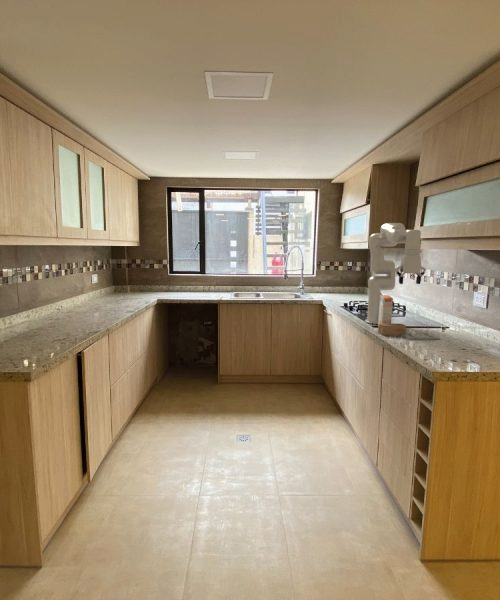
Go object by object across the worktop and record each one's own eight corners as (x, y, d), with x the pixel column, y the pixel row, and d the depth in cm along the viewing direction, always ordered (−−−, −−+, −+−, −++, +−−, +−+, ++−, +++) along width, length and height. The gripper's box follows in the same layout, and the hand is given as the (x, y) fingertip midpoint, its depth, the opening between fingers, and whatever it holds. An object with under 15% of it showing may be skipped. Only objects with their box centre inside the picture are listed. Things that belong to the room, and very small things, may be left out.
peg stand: (400, 335, 218) (401, 328, 218) (430, 335, 219) (430, 328, 219) (408, 339, 208) (409, 332, 208) (439, 339, 209) (440, 332, 209)
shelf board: (378, 333, 223) (378, 323, 223) (400, 333, 224) (401, 323, 223) (382, 335, 218) (382, 325, 217) (405, 335, 218) (406, 325, 217)
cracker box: (391, 332, 226) (393, 298, 223) (380, 331, 228) (383, 297, 224) (387, 327, 240) (389, 295, 237) (377, 326, 241) (379, 294, 238)
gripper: (423, 252, 207) (421, 283, 210) (393, 252, 206) (391, 283, 209) (430, 253, 200) (428, 284, 202) (399, 252, 199) (397, 284, 201)
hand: (409, 283), depth 206 cm, fingers open, 9 cm apart
